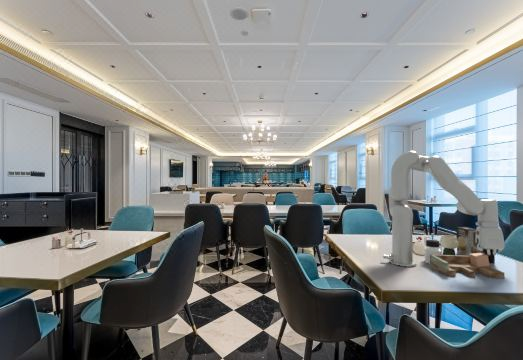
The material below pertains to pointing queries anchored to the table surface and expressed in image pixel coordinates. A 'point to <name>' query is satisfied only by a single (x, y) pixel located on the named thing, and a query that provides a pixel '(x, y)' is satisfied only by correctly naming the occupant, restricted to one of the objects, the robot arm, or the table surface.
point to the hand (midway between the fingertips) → (490, 262)
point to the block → (479, 259)
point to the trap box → (461, 266)
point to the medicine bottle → (431, 249)
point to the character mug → (449, 244)
